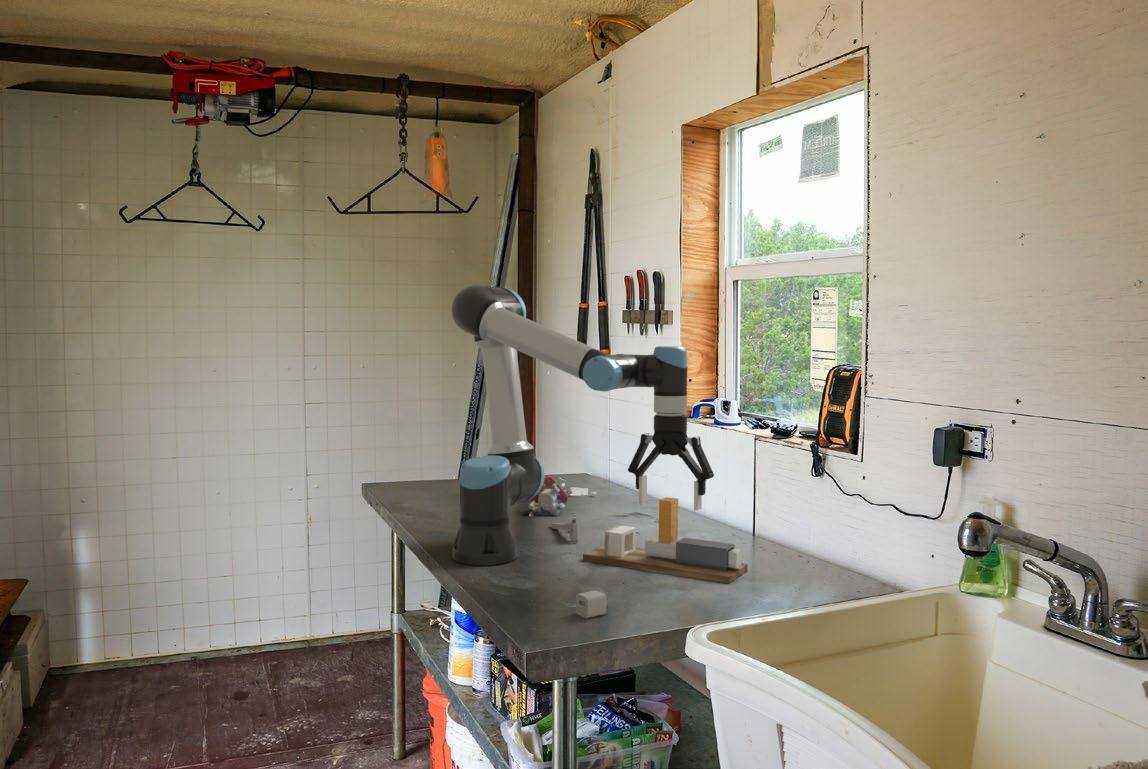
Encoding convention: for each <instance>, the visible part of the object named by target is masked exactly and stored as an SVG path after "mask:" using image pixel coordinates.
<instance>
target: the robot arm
mask: <svg viewBox="0 0 1148 769" xmlns="http://www.w3.org/2000/svg"><path fill="white" fill-rule="evenodd" d="M451 303H452V304H451V316H452V319H453V321H454V323H455V324H456V326H457V327H458V328H459V329H460V330H461V331H463V332H465V333H468V334H469V335H472V336H473V339H474V344H475V346H478V348H480V350H481V354H482V363H483V373H484V378H485V379H484V380H485V387H486V388H485V390H486V398H487V407H488V408H487V409H488V415H489V416H488V417H489V424H490V432H491V442H492V445H491V447H489V449H488V451H487V455H482V456H475V457H472V458H469V459H467V460H465V461H464V462H463V463H462V464H461V466H460V470H459V472H460V473H459V479H458V480H459V481H458V482H459V528H458V531H457V534H456V537H455V539H454V543H453V545H452V549H451V550H452V551H451V552H452V554H451V556H452V559H453V560H454V561H455V562H456V563H460V564H464V565H469V566H472V565H473V566H494V565H495V566H496V565H502V564H505V563H506V564H507V563H509V562H512V561H515V559H517V556H518V554H517V551H518V549H517V545H516V543H515V539H514V535H513V532H512V529H511V526H510V507H513V506H515V505H518V504H523V503H526V502H527V501H529V500H530V499H531V498H533V497H534V496H535V495H537V494H538V495H539V493H540V492H539V491H540V490H541V488H542V486H544V484H543V483H544V479H545V478H546V477H545V476H546V475H545V469H544V465H543V464H542V462H541V461H540V460H539V459H538V457H537V456H536V455H535V448H534V446H533V445H532V444H531V443H529V441H528V438H527V431H526V424H525V423H526V422H525V415H524V414H525V413H524V405H523V396H522V387H521V386H522V385H521V379H520V378H521V377H520V369H519V362H518V361H519V360H518V352H520V353H523V354H525V355H527V356H529V357H531V358H533V359H535V360H538V361H540V362H542V363H545V364H546V365H549V366H551V367H553V368H555V369H558V370H560V371H561V372H565V373H567V374H569V375H571V376H573V377H575V378H577V379H579V380H581V381H584V382H585V384H586V385H587V386H588V388H590V389H591V390H593V391H595V392H596V391H597V392H609V391H612V390H613V391H614V390H618V389H625V388H653V412H654V413H655V414H654V416H653V434H650V433H648V432H646V433H642V434H640V440H639V441H640V442H639V445H638V446H637V449H636V451H635V453H634V455H633V458H632V460H631V462H630V464H629V466H628V468H627V472H628V473H630V474H631V473H632V474H633V475H634V476H635V489H636V490H638V505H640V506H642V505H646V504H647V503H648V475H647V474H645V472H646V471H648V469H649V468H650V467H651V465H652V464H653V463H654V462H655V461H656V459H657V458H658V457H659V456H660V455H661V454H662V456H666V455H669V456H675V457H676V456H678V457H679V458H681V459H682V461H683V462H684V464H685V465H686V466H687V467H688V469H689V470H690V472H691V473H692V475H693V476H694V477H695V478H696V480H694V481H693V510H694V511H699V510H702V506H703V504H702V503H703V501H702V500H703V499H702V497H703V496H705V495H706V487H707V486H706V485H707V484H706V482H707V481H708V480H709V479H712V478H714V476H715V473H714V471H713V470H712V467H711V465H710V462H709V460H708V457H707V455H706V453H705V451H704V449H703V447H702V443H701V442H702V441H701V437H700V436H698V435H697V436H694V437H693V436H690V437H688V435H687V434H688V433H687V432H688V431H687V430H688V416H687V415H686V413H687V412H688V368H689V365H688V354H687V353H688V352H687V349H686V348H685V347H684V346H678V345H676V346H675V345H673V346H672V345H671V346H668V345H667V346H666V345H664V346H663V345H659V346H655V347H654V348H653V354H630V353H629V354H627V353H626V354H625V353H616V354H608V353H606V352H604V351H602V350H599V349H596V348H595V347H592V346H589V345H588V344H585V343H584V342H581V341H579V340H577V339H574V338H572V337H569V336H568V335H565V334H563V333H561V332H559V331H556V330H554V329H551V328H550V327H547V326H545V325H542V324H541V323H538V322H536V321H534V320H531V319H529V318H527V309H526V308H527V307H526V305H525V301H524V300H523V299H522V297H521V296H520V295H519V293H517V292H515V291H514V290H512V289H509V288H507V287H504V286H488V285H486V286H485V285H479V284H476V285H475V284H473V285H469V286H466V287H464V288H462V289H460V291H459V292H458V293H457V294H456V295H455V296H454V298H453V299H452V302H451ZM652 442H653V444H654V445H655V447H653V449H652V450H651V451H650V453H649V455H648V456H647V457H646V458H645V459H644V460H643V462H642V459H643V458H644V456H645V454H646V452H647V449H648V447H649V445H650V444H651V443H652ZM688 444H689V446H690V447H691V449H692V451H693V454H694V455H695V458H696V460H695V459H694V458H693V456H692V455H691V454H690V451H689V450H688V448H687V445H688ZM696 461H697V462H698V463H697V462H696ZM641 462H642V463H641Z"/></svg>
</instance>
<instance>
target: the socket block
mask: <svg viewBox="0 0 1148 769" xmlns="http://www.w3.org/2000/svg"><path fill="white" fill-rule="evenodd" d="M604 544H605V555H610V556H616V557H623V556H625V555H627V554H629V553H631V552H633V551H635V550H636V548H637V546H636V544H637V527H632V526H628V525H617V526H615V527H613V528H610V529H608V530H606V531H604Z"/></svg>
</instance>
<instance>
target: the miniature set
mask: <svg viewBox="0 0 1148 769" xmlns="http://www.w3.org/2000/svg"><path fill="white" fill-rule="evenodd" d="M560 485H561V486H560V487H561V488H565V486H566V483H565V482H562V483H561V484H560ZM569 489H570V490H569V491H570V492H571V493H570V494H569V495H570V496H571V497H572V496H573V497H581V496H588V495H589V494H590V495H598V492H597V491H589V488H588V487H584V488H582V487H570V488H569ZM563 490H564V489H563ZM566 491H567V490H566V489H565V490H564V492H566ZM589 492H590V493H589Z"/></svg>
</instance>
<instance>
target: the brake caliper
mask: <svg viewBox="0 0 1148 769" xmlns="http://www.w3.org/2000/svg"><path fill="white" fill-rule="evenodd" d="M544 485H545V486H544ZM539 493H540V494H539ZM539 493H538V494H537V495H535V496H534V497H533V498H531V499H529V500H530V503H529V505H528V508H529V509H530V510H531V511H530V513H529V514H528V516H529V517H533V516H534V514H535V515H537V516H561V514H562V512H563V511H564V509H565V508H566V507H567V502H568V500H569V497H568V494H567V492H566V491H564V488H563V487H562V486H560V484H558V482H557V481H556V480H555V479H554V477H552V476H551V475H547V476H546V477H545V478H544V483H543V486H542V488H541V490H540V491H539Z"/></svg>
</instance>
